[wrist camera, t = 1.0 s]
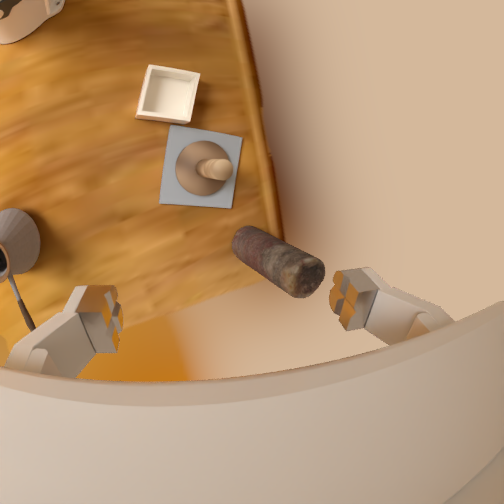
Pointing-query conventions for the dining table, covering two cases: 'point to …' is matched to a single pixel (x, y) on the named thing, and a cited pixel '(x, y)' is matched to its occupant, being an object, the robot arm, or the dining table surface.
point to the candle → (279, 261)
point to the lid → (203, 168)
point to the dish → (167, 95)
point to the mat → (175, 144)
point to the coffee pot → (18, 250)
